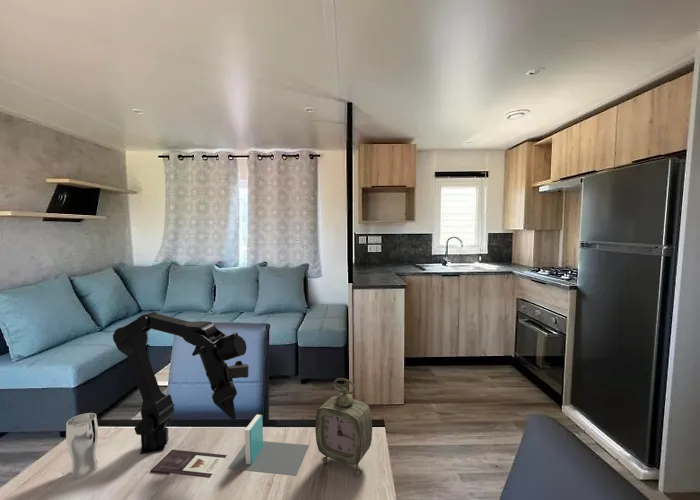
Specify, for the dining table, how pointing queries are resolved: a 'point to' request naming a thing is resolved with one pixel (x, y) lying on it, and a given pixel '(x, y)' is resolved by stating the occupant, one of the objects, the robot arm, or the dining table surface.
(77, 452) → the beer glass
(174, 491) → the dining table surface
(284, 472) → the mat
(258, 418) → the tile
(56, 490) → the dining table surface
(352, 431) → the tabletop clock
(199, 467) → the chocolate bar
